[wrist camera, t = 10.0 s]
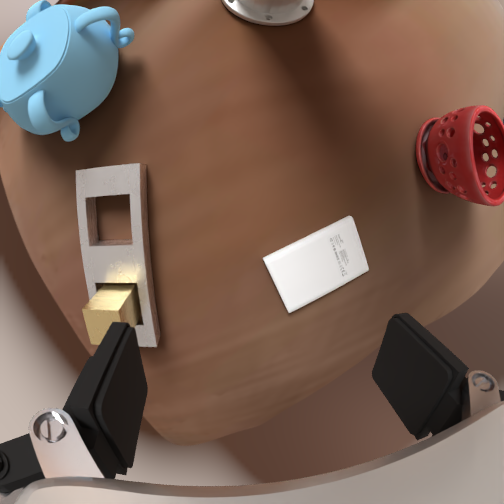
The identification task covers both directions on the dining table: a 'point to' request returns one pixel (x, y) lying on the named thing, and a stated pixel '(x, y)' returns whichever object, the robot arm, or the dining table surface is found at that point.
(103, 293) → the gold rectangular block
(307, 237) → the external hard drive
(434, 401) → the robot arm
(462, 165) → the plant pot
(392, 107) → the dining table surface
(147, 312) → the grey slotted plate
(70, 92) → the decorative pot
